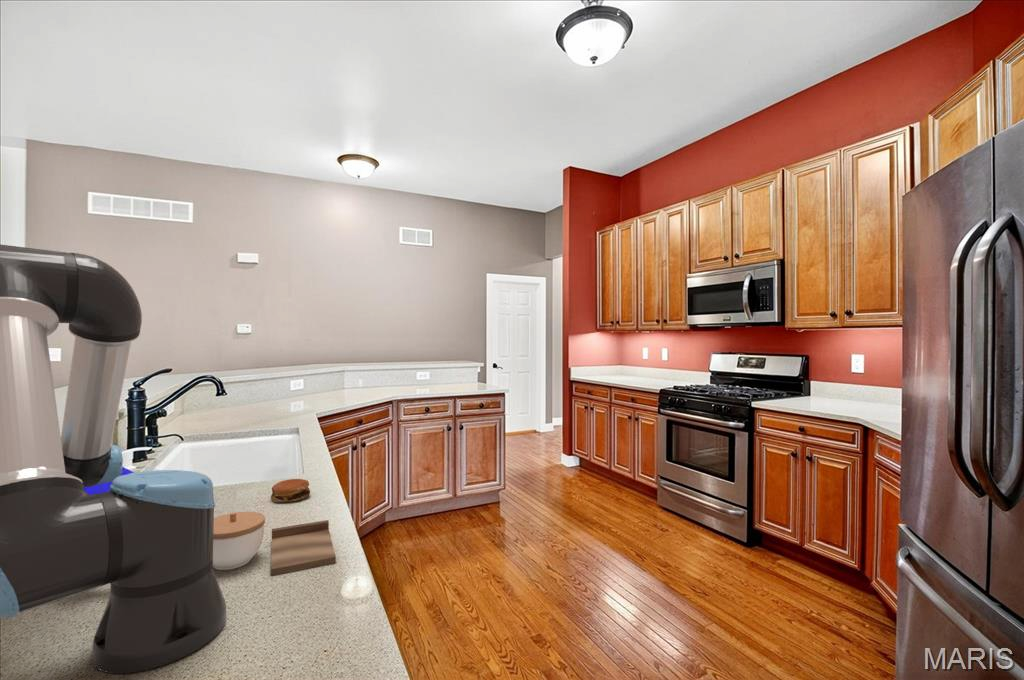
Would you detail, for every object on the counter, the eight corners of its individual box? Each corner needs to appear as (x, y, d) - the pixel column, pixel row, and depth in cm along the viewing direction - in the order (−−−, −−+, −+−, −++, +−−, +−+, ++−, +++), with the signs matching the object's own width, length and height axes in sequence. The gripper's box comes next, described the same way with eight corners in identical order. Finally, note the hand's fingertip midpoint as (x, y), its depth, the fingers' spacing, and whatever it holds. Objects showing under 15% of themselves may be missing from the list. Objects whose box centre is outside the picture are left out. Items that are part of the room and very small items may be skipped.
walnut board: (335, 562, 87) (335, 548, 87) (270, 575, 82) (270, 560, 82) (327, 532, 101) (328, 519, 101) (271, 542, 96) (271, 528, 96)
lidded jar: (245, 545, 94) (246, 499, 94) (276, 558, 89) (276, 510, 89) (187, 566, 85) (187, 516, 85) (217, 582, 80) (217, 529, 80)
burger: (265, 498, 122) (265, 480, 122) (300, 490, 129) (300, 473, 129) (279, 507, 116) (280, 489, 116) (316, 498, 122) (316, 481, 122)
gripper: (98, 529, 94) (210, 524, 98) (-22, 596, 70) (133, 586, 73) (99, 493, 94) (210, 489, 98) (-21, 547, 70) (134, 539, 73)
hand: (178, 530), depth 85 cm, fingers open, 13 cm apart
